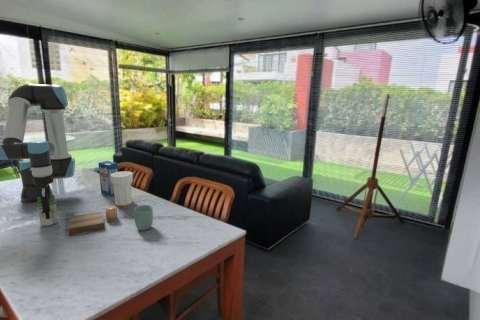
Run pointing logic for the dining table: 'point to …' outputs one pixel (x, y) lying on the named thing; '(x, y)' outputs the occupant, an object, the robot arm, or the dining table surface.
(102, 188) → the milk carton
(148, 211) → the cup
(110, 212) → the wooden peg
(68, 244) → the dining table surface
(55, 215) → the ink box
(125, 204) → the cup
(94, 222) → the podium
